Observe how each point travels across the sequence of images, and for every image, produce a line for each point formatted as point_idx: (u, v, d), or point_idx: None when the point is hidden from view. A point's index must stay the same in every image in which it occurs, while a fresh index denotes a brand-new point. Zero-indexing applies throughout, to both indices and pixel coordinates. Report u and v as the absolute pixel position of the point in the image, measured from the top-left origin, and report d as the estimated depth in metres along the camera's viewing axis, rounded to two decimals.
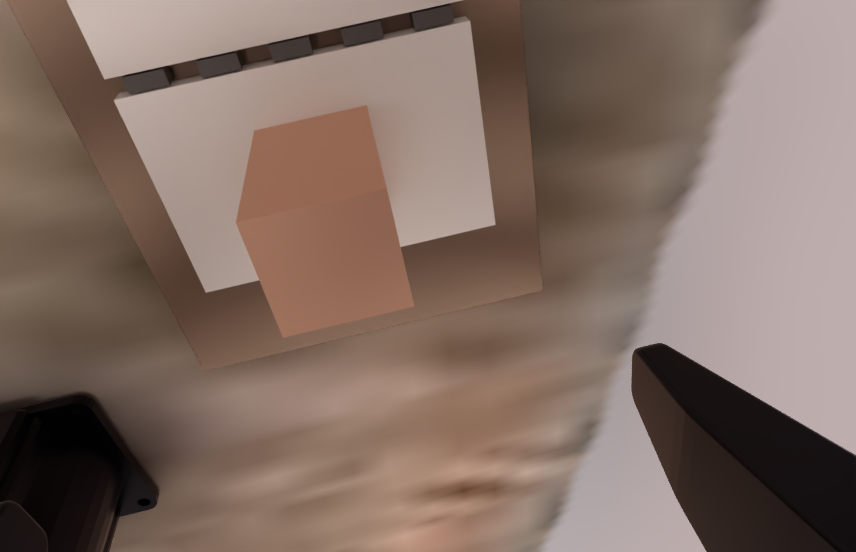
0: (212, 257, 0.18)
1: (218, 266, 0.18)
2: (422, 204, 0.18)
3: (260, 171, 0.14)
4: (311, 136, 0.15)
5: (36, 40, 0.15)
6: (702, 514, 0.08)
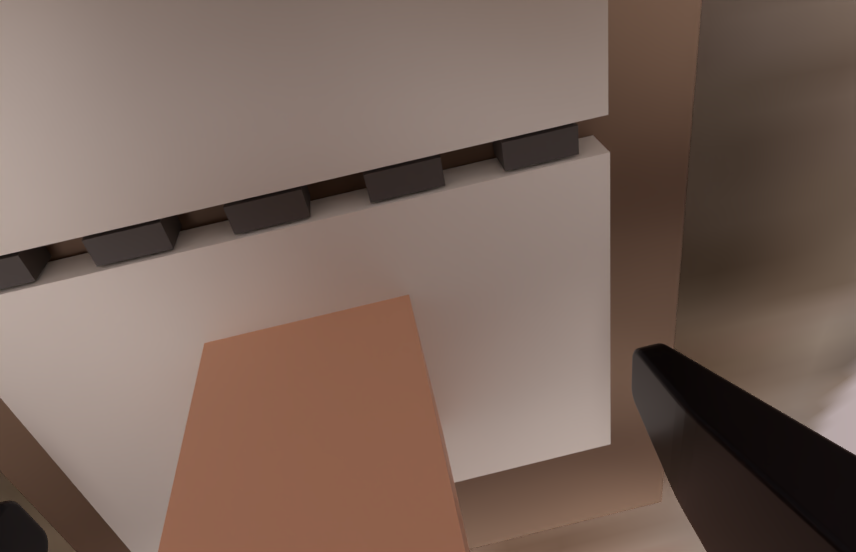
0: (144, 517, 0.11)
1: (156, 528, 0.11)
2: (496, 426, 0.11)
3: (197, 506, 0.06)
4: (308, 384, 0.08)
5: None
6: (702, 514, 0.08)
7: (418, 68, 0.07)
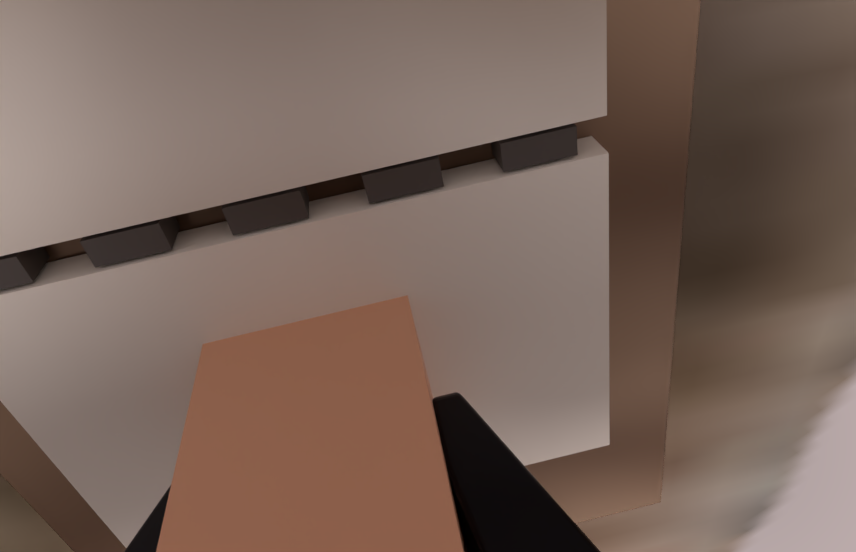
0: (143, 518, 0.11)
1: None
2: (494, 427, 0.11)
3: (195, 508, 0.06)
4: (306, 386, 0.08)
5: None
6: None
7: (416, 69, 0.07)
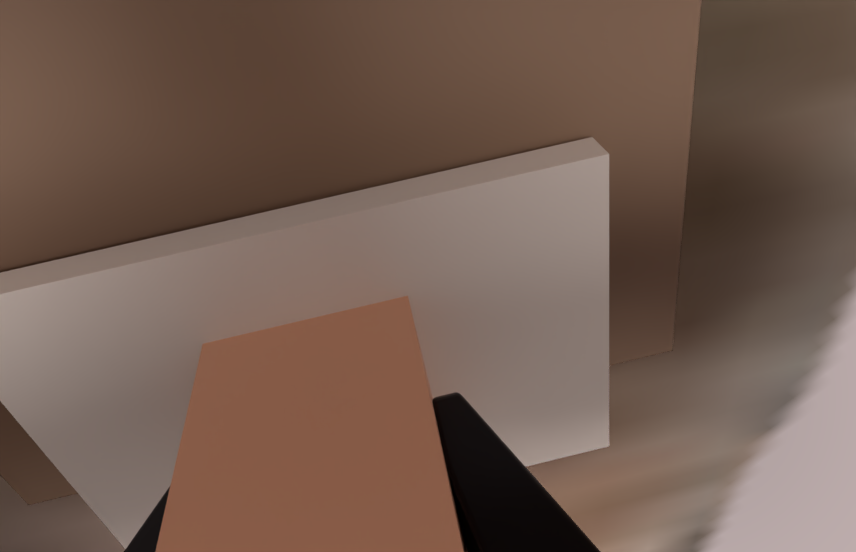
0: (142, 518, 0.11)
1: None
2: (494, 428, 0.11)
3: (195, 507, 0.06)
4: (306, 385, 0.08)
5: None
6: None
7: None
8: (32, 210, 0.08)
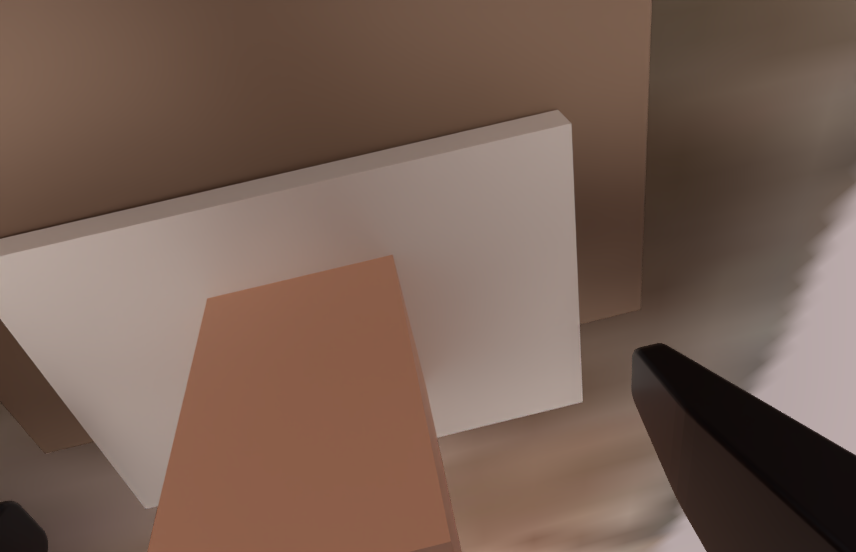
0: (151, 466, 0.12)
1: (162, 477, 0.12)
2: (475, 382, 0.12)
3: (202, 428, 0.07)
4: (300, 330, 0.09)
5: None
6: (702, 514, 0.08)
7: None
8: (51, 170, 0.09)
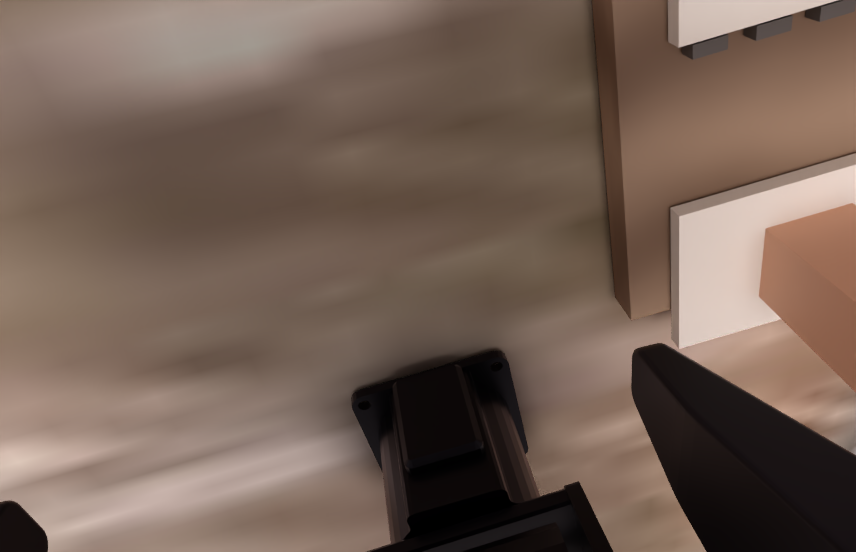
0: (695, 322, 0.23)
1: (696, 329, 0.23)
2: None
3: (832, 271, 0.18)
4: (837, 235, 0.19)
5: (619, 16, 0.16)
6: (702, 514, 0.08)
7: None
8: (713, 172, 0.20)
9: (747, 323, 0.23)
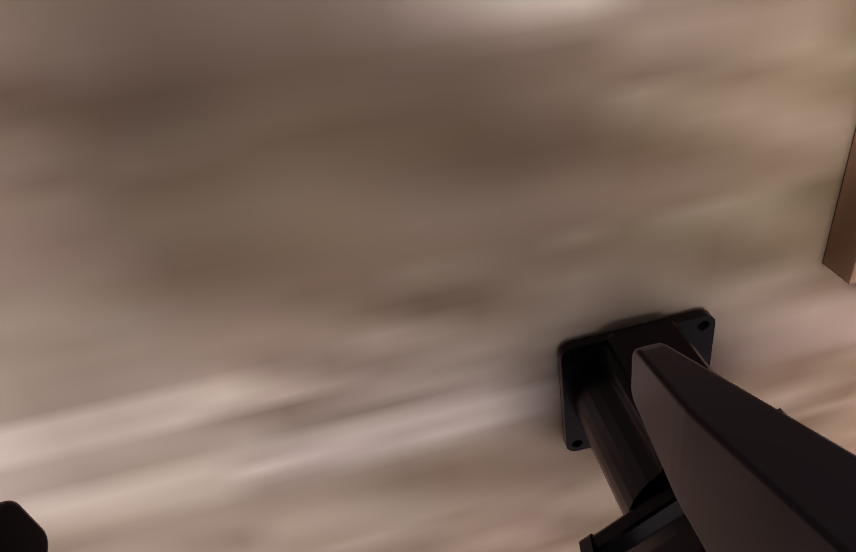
0: None
1: None
2: None
3: None
4: None
5: None
6: (702, 514, 0.08)
7: None
8: None
9: None
